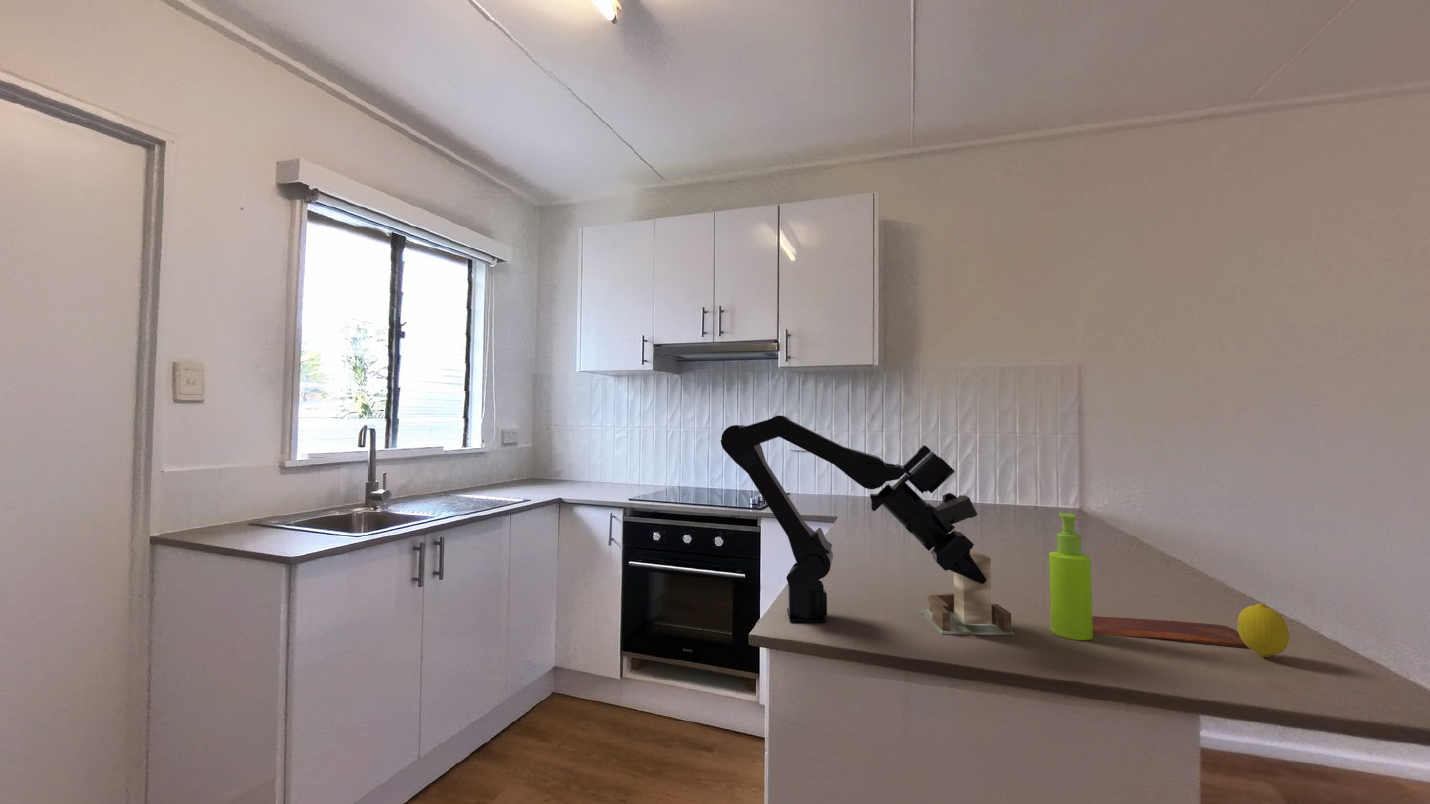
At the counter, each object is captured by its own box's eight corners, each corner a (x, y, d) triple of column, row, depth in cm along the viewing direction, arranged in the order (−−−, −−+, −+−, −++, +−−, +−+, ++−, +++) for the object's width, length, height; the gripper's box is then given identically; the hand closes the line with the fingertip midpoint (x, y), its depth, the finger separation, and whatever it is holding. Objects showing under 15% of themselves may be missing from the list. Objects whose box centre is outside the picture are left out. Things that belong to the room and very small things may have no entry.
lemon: (1296, 668, 79) (1293, 611, 79) (1244, 660, 82) (1241, 605, 82) (1283, 655, 84) (1280, 601, 84) (1234, 647, 86) (1231, 596, 87)
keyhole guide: (941, 634, 93) (941, 613, 93) (919, 611, 104) (919, 593, 104) (1014, 635, 92) (1014, 614, 92) (984, 612, 104) (983, 593, 104)
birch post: (964, 623, 92) (963, 557, 93) (954, 614, 97) (953, 551, 97) (991, 624, 92) (990, 558, 92) (980, 615, 96) (979, 552, 97)
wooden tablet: (1228, 632, 95) (1228, 622, 95) (1265, 654, 85) (1265, 643, 85) (1053, 615, 103) (1052, 606, 103) (1069, 634, 94) (1068, 624, 94)
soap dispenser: (1088, 628, 95) (1084, 512, 96) (1096, 642, 89) (1091, 517, 90) (1048, 623, 97) (1045, 510, 98) (1053, 636, 91) (1050, 515, 92)
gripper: (958, 485, 87) (1036, 558, 84) (935, 475, 105) (998, 535, 103) (906, 533, 88) (982, 607, 86) (892, 515, 107) (954, 575, 104)
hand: (980, 578), depth 94 cm, fingers closed on birch post, 5 cm apart
